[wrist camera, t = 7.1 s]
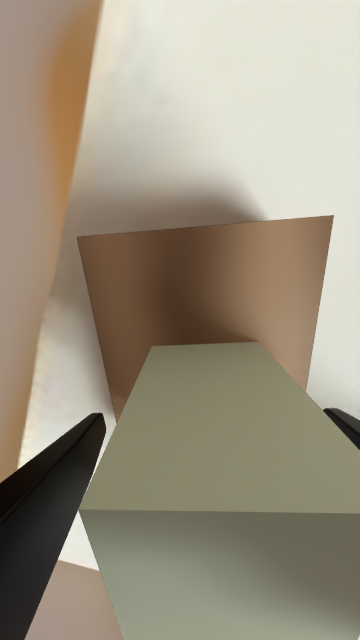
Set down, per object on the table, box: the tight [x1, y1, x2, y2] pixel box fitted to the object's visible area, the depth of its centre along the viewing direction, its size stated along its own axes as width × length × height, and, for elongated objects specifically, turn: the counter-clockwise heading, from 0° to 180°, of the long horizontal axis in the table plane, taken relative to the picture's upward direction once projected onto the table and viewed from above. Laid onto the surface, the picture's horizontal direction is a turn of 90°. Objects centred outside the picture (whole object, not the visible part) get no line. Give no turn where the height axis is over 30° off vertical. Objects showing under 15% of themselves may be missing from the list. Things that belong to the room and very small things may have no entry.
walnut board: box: [77, 215, 334, 423], centre depth 11 cm, size 10×15×4 cm, turn 4°
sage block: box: [78, 342, 360, 640], centre depth 6 cm, size 5×5×6 cm
